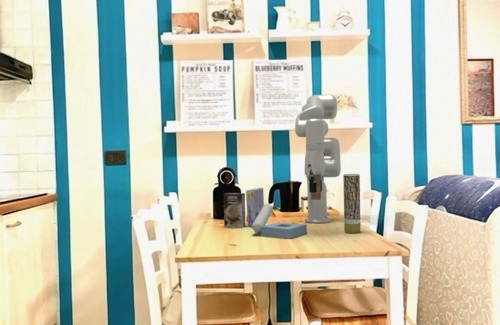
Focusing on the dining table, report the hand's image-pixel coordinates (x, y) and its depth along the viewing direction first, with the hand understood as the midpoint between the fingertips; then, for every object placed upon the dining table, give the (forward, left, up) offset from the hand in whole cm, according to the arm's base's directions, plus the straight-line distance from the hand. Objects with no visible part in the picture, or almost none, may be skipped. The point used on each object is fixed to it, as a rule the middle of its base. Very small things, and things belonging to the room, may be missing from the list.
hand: (315, 191), depth 194 cm
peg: (0, 0, -3) cm, 3 cm away
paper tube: (-12, +11, -18) cm, 25 cm away
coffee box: (+1, -43, -18) cm, 47 cm away
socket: (+8, -11, -18) cm, 23 cm away
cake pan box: (-11, -39, -18) cm, 45 cm away
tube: (+5, -25, -15) cm, 29 cm away
